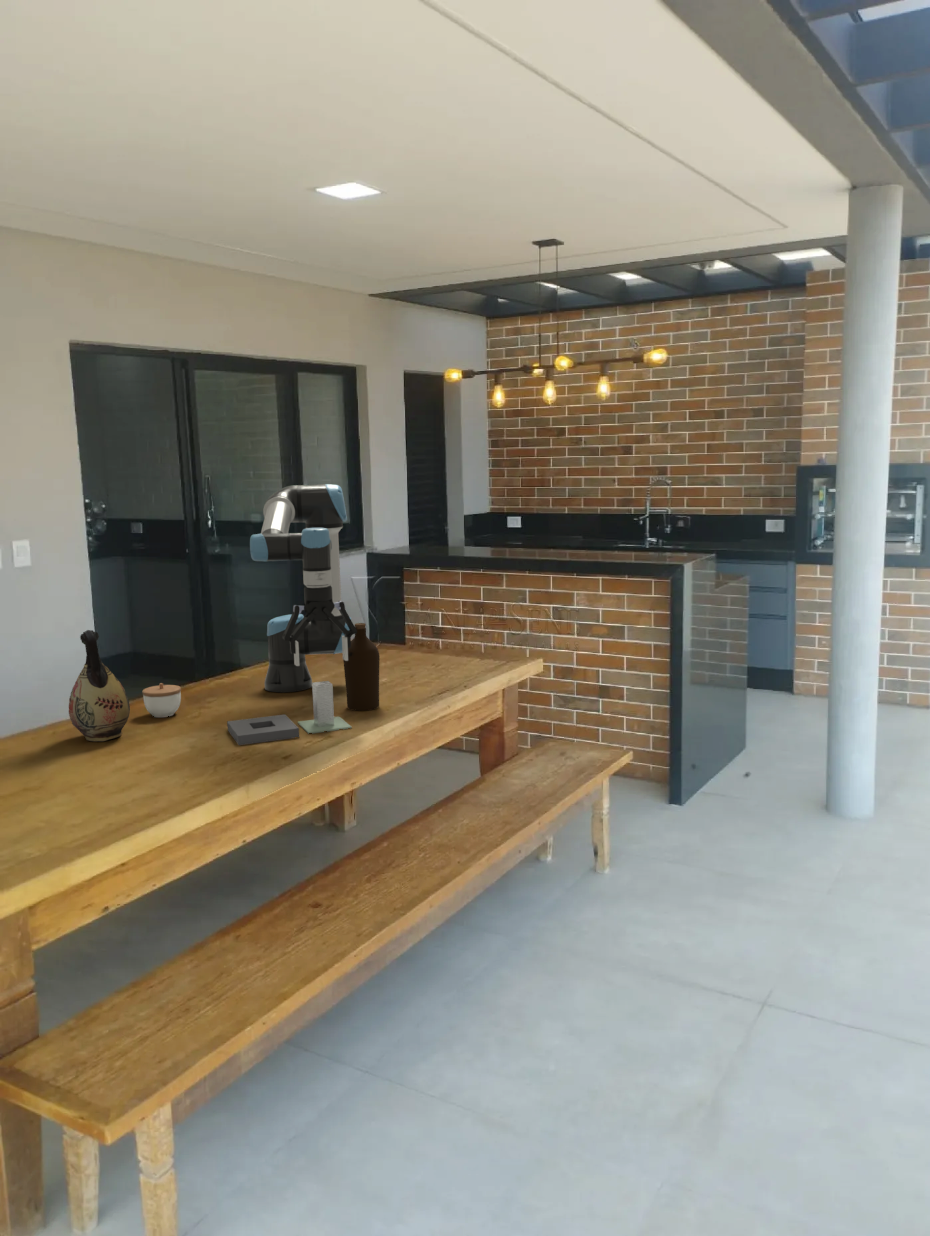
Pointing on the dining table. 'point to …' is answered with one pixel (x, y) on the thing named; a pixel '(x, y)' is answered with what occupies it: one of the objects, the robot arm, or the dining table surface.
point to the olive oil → (362, 672)
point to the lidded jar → (162, 699)
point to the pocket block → (262, 729)
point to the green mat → (313, 728)
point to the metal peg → (323, 703)
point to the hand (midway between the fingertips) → (321, 662)
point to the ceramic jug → (97, 697)
